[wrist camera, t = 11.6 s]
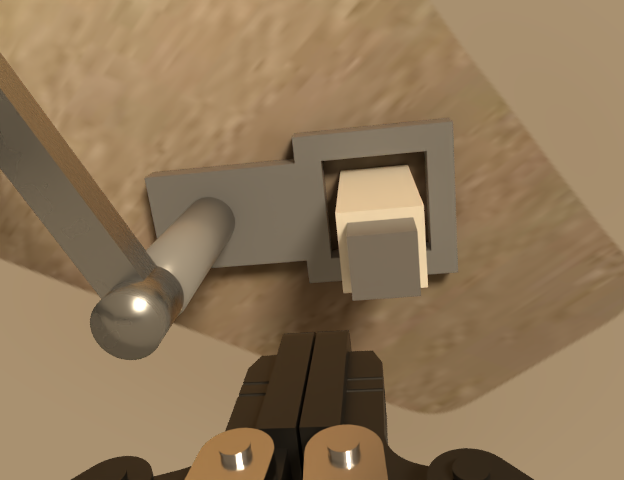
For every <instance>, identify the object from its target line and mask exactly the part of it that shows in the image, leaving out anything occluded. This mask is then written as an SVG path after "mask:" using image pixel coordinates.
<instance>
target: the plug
mask: <svg viewBox="0 0 624 480" xmlns="http://www.w3.org/2000/svg"><path fill="white" fill-rule="evenodd" d="M335 216H336V225H337V235H338V245H339V255H340V265H341V275H342V284H343V293H352V300H353V301H356V300H370V299H385V298H399V297H413V296H421V288H424V287H428V277H427V257H426V238H425V218H424V205H423V202H422V200H421V197H420V195H419V192H418V190H417V187H416V185H415V182H414V179H413V177H412V174H411V172H410V169H409V167H408V165H397V166H386V167H376V168H365V169H354V170H344V171H340V179H339V187H338V195H337V203H336V211H335Z"/></svg>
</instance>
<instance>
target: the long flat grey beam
mask: <svg viewBox="0 0 624 480" xmlns="http://www.w3.org/2000/svg"><path fill="white" fill-rule="evenodd" d="M0 169H1V170H2V171H3V173H4V174H5V175H6V176H7V178H8V179H9V180H10V182H11V183H12V184H13V185H14V187H15V188H16V189H17V191H18V192H19V193H20V194H21V196H22V197H23V198H24V200H25V201H26V202H27V204H28V205H29V206H30V207H31V209H32V210H33V211H34V213H35V214H36V215H37V216H38V218H39V219H40V220H41V222H42V223H43V224H44V225H45V227H46V228H47V229H48V231H49V232H50V233H51V234H52V236H53V237H54V238H55V240H56V241H57V242H58V243H59V245H60V246H61V247H62V249H63V250H64V251H65V253H66V254H67V255H68V256H69V258H70V259H71V260H72V262H73V263H74V264H75V265H76V267H77V268H78V269H79V271H80V272H81V273H82V274H83V276H84V277H85V278H86V280H87V281H88V282H89V283H90V285H91V286H92V287H93V289H94V290H95V291H96V292H97V294H98V295H99V296H100V298H101V301H100V302H99V303H98V304H97V305H96V306H95V307H94V309H93V311H92V314H91V318H90V327H91V331H92V334H93V337H94V338H95V340H96V341H97V343H98V344H99V345H100V347H101V348H103V349H104V350H105V351H106V352H108V353H109V354H111V355H113V356H115V357H117V358H121V359H126V360H137V359H141V358H144V357H146V356H148V355H150V354H151V353H152V352H154V351H155V350H156V348H157V347H158V346H159V344H160V342H161V341H162V339H163V338H164V336H165V335H166V333H167V331H168V330H169V328H170V327H171V325H172V324H173V322H174V321H175V319H176V318H177V316H178V314H179V313H180V311H181V309H182V307H183V303H184V293H183V289H182V286H181V284H180V283H179V281H178V280H177V278H176V277H175V276H174V275H173V274H172V273H170V272H169V271H168V270H166V269H164V268H162V267H159V266H157V265H156V264H155V263H154V261H153V260H152V259H151V257H150V256H149V255H148V253H147V252H146V250H145V249H144V248H143V246H142V245H141V244H140V242H139V241H138V240H137V238H136V237H135V235H134V234H133V233H132V231H131V230H130V229H129V227H128V226H127V225H126V223H125V222H124V220H123V219H122V218H121V216H120V215H119V214H118V212H117V211H116V210H115V208H114V207H113V205H112V204H111V203H110V201H109V200H108V199H107V197H106V196H105V195H104V193H103V192H102V190H101V189H100V188H99V186H98V185H97V184H96V182H95V181H94V180H93V178H92V177H91V176H90V174H89V173H88V171H87V170H86V169H85V167H84V166H83V165H82V163H81V162H80V161H79V159H78V158H77V156H76V155H75V154H74V152H73V151H72V150H71V148H70V147H69V146H68V144H67V143H66V141H65V140H64V139H63V137H62V136H61V135H60V133H59V132H58V131H57V129H56V128H55V126H54V125H53V124H52V122H51V121H50V120H49V118H48V117H47V116H46V114H45V113H44V111H43V110H42V109H41V107H40V106H39V105H38V103H37V102H36V101H35V99H34V98H33V96H32V95H31V94H30V92H29V91H28V90H27V88H26V87H25V86H24V84H23V83H22V81H21V80H20V79H19V77H18V76H17V75H16V73H15V72H14V71H13V69H12V68H11V66H10V65H9V64H8V62H7V61H6V60H5V58H4V57H3V56H2V54H1V53H0Z"/></svg>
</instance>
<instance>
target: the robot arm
mask: <svg viewBox="0 0 624 480" xmlns="http://www.w3.org/2000/svg"><path fill="white" fill-rule="evenodd" d="M243 383H244V384H243V385H242V387H241V390H240V393H239V397H238V398H237V401H236V404H235V406H234V409H233V412H232V414H231V417H230V420H229V422H228V425H227V428H226V431H225V432H222V433H220V434H218V435H216V436H214V437H213V438H212V439H210V440H209V441H207V442H206V443H205V445H203V447H202V448H201V450H200V451H199V453H198V455H197V457H196V459H195V461H194V462H193V464H192V466H190V467H188V468H185V469H181V470H178V471H174V472H170V473H166V474H162V475H158V476H154V477H153V473H152V469H151V466H150V464H149V463H148V462H147V461H145V460H144V459H142V458H139V457H133V456H122V457H116V458H112V459H109V460H106V461H103V462H101V463H99V464H97V465H95V466H93V467H91V468H90V469H88V470H86V471H85V472H83V473H81V474H80V475H78V476H76V477H75V478H73V479H71V480H534V479H532V478H531V477H529V476H528V475H526V474H525V473H523V472H521V471H520V470H518V469H517V468H515V467H514V466H512V465H511V464H509V463H507V462H506V461H505V460H503V459H502V458H500V457H498V456H496V455H494V454H492V453H489V452H486V451H483V450H478V449H468V448H464V449H456V450H451V451H448V452H445V453H443V454H441V455H439V456H438V457H436V458H435V459H434V460H433V461H432V462H431V464H430V466H425V465H420V464H417V463H413V462H410V461H408V460H405V459H403V458H401V457H400V456H398V455H397V454H396V453H394V452H393V451H392V450H391V449H390V447H389V446H388V439H387V415H386V403H385V390H384V378H383V366H382V362H381V360H380V359H379V358H378V357H377V355H376V354H375V353H374V352H373V351H354V352H352V351H351V341H350V334H349V330H344V331H325V332H317V334H316V333H315V332H307V333H288V334H284V335H283V337H282V340H281V344H280V347H279V350H278V354H277V355H272V356H261V357H260V358H259V359H258V360H257V361H256V362H255V363H254V364H253V365H252V366H251V367H250V368H249V369H248V371H247V374H246V377H245V379H244V382H243Z"/></svg>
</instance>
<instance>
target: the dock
mask: <svg viewBox="0 0 624 480" xmlns="http://www.w3.org/2000/svg"><path fill="white" fill-rule="evenodd" d="M292 144H293V152H294V159H287V160H276V161H266V162H256V163H245V164H235V165H225V166H214V167H204V168H193V169H183V170H173V171H162V172H153V173H151V174H150V175H148V176H147V177H145V183H146V187H147V192H148V197H149V202H150V207H151V212H152V217H153V221H154V226H155V231H156V236H157V240H156V241H155V242H154V243H153V244H152V245H151V246H150V247H149V248H148V249H147V250H146V252H147V253H148V255H149V256H150V257H151V259H152V260H153V261H154V263H155V264H156V265H157V266H159V267H162V268H164V269H166V270H168V271H169V272H170V273H172V274H173V275H174V276H175V277H176V278H177V280H178V281H179V283H180V284H181V286H182V289H183V293H184V303H183V307H182V309H181V311H180V313H179V314H178V316H179V315H180V314H181V313H182V312H183V311H184V309H185V308H186V306H187V305H188V303H189V301H190V300H191V298H192V297H193V295H194V294H195V292H196V290H197V289H198V287H199V286H200V284H201V282H202V281H203V279H204V278H205V276H206V275H207V273H208V271H209V270H210V268H218V267H231V266H243V265H256V264H269V263H282V262H295V261H307V267H308V275H309V283H319V282H333V281H342V275H341V265H340V255H339V250H332V243H331V234H330V225H329V215H328V206H327V196H326V187H325V177H324V168H323V161H327V160H337V159H348V158H358V157H369V156H379V155H390V154H400V153H411V152H421V151H424V159H425V179H426V199H427V219H428V239H429V242H428V243H426V257H427V274H441V273H454V272H458V257H457V228H456V198H455V168H454V138H453V121H452V120H451V119H450V118H443V119H433V120H423V121H413V122H403V123H393V124H383V125H373V126H363V127H353V128H344V129H334V130H324V131H314V132H304V133H294V135H293V136H292ZM178 316H177V317H178Z"/></svg>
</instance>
